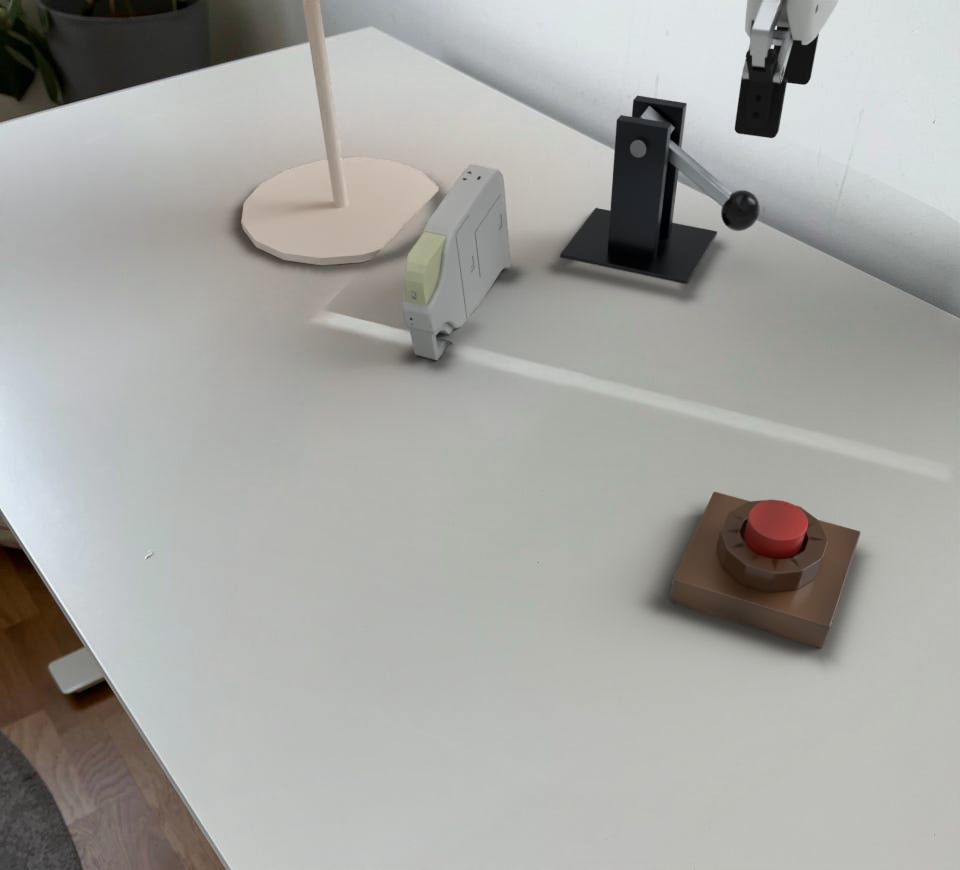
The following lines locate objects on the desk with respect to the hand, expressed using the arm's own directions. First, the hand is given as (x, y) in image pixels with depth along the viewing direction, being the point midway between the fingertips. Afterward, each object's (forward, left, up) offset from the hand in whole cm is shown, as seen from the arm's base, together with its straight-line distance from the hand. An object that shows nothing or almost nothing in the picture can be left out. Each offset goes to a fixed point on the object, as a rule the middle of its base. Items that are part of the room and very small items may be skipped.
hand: (773, 106), depth 77 cm
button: (-11, +35, -11) cm, 38 cm away
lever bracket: (+10, 0, -15) cm, 18 cm away
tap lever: (+6, 0, -8) cm, 10 cm away
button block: (-11, +35, -15) cm, 39 cm away
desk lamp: (+40, +3, -15) cm, 43 cm away
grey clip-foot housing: (+21, +15, -15) cm, 29 cm away
